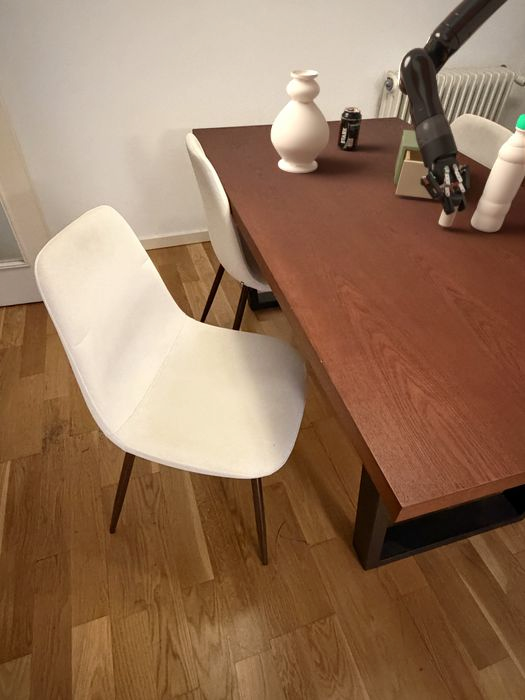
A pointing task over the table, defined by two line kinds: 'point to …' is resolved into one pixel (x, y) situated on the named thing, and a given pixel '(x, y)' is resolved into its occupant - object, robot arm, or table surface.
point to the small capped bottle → (448, 219)
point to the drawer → (413, 176)
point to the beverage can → (349, 128)
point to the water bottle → (502, 182)
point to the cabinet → (406, 144)
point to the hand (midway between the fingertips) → (456, 211)
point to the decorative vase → (300, 125)
